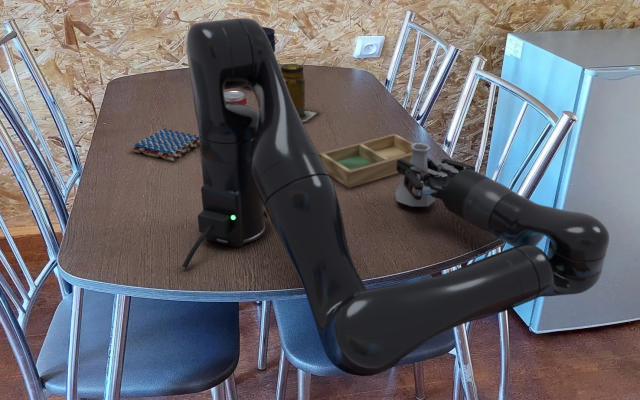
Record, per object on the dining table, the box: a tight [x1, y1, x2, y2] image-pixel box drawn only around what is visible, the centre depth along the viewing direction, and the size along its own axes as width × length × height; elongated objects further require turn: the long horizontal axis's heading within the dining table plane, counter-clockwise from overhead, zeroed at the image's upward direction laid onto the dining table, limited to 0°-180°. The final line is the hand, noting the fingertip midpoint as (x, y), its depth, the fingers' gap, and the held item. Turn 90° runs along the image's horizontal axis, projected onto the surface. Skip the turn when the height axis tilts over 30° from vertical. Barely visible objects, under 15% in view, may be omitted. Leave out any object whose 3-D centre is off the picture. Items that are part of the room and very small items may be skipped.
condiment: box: [280, 63, 317, 123], centre depth 136 cm, size 7×8×12 cm
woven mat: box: [132, 128, 200, 162], centre depth 119 cm, size 10×11×2 cm
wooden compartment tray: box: [318, 133, 415, 189], centre depth 113 cm, size 10×19×3 cm, turn 124°
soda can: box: [224, 90, 248, 106], centre depth 117 cm, size 5×5×12 cm
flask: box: [394, 142, 436, 208], centre depth 98 cm, size 7×7×10 cm
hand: (407, 161), depth 100 cm, fingers closed on flask, 3 cm apart
